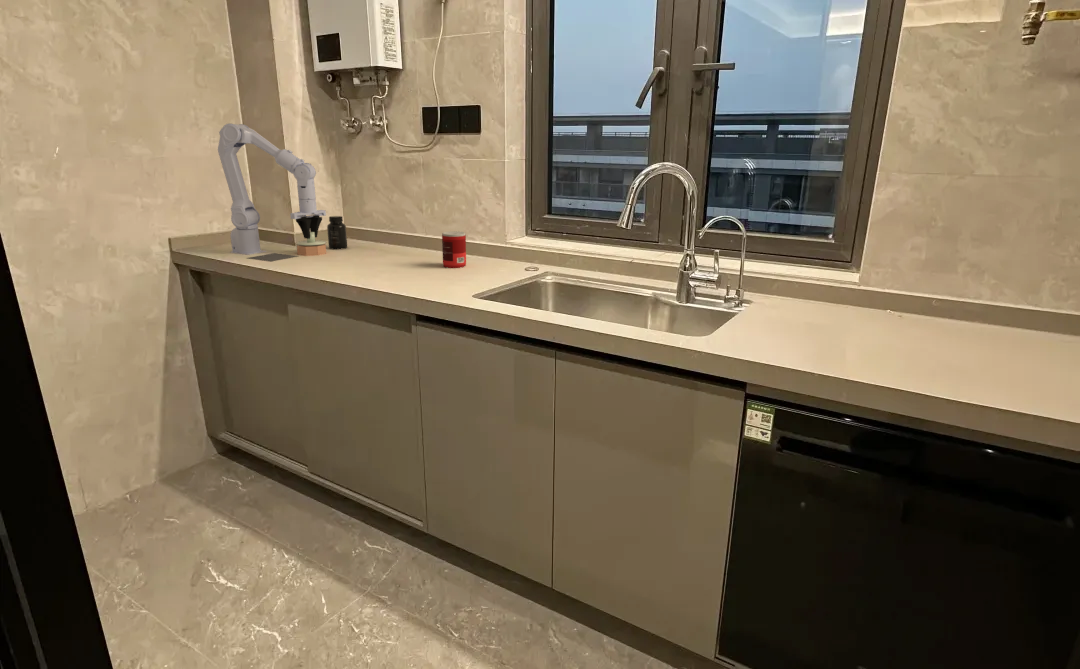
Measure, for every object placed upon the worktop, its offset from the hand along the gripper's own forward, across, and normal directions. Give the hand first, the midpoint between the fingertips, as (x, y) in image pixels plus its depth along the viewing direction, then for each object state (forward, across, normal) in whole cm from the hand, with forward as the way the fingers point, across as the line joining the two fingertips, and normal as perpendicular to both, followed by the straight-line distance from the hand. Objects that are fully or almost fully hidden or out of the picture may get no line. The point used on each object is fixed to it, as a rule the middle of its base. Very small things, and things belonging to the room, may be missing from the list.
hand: (310, 237), depth 222 cm
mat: (+6, -13, +5) cm, 15 cm away
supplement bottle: (+6, +15, +2) cm, 16 cm away
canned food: (+6, +8, -56) cm, 57 cm away
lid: (+2, 0, 0) cm, 2 cm away
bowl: (+6, 0, 0) cm, 6 cm away
